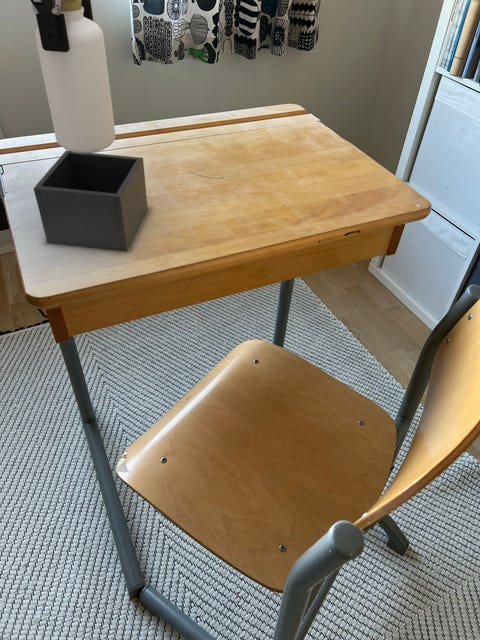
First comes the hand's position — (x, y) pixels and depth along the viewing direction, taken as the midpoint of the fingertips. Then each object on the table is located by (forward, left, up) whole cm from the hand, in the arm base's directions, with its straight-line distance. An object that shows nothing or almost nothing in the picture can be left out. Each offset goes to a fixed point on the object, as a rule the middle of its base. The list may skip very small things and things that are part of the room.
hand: (70, 40), depth 65 cm
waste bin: (0, 0, -28) cm, 28 cm away
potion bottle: (0, 0, -14) cm, 14 cm away
